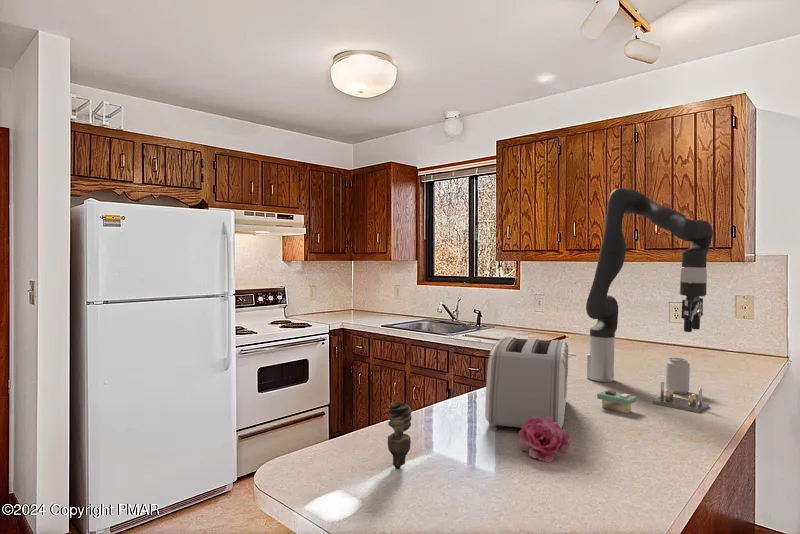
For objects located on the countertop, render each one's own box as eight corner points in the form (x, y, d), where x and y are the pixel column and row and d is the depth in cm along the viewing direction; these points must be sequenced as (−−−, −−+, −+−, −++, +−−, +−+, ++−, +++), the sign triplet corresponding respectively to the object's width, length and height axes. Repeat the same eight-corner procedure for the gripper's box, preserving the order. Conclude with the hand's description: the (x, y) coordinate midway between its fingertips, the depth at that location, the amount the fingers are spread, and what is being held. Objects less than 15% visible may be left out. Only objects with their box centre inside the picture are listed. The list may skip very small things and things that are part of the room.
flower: (554, 478, 121) (533, 446, 119) (528, 466, 130) (507, 435, 128) (584, 444, 125) (564, 412, 123) (556, 434, 134) (537, 404, 133)
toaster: (567, 397, 180) (569, 332, 179) (563, 440, 138) (565, 355, 137) (505, 391, 187) (506, 329, 186) (482, 430, 145) (483, 350, 144)
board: (597, 398, 167) (597, 391, 167) (605, 395, 172) (605, 388, 172) (628, 405, 160) (628, 397, 160) (636, 401, 164) (636, 394, 164)
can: (692, 394, 185) (692, 361, 185) (669, 393, 186) (669, 360, 186) (685, 389, 192) (685, 357, 192) (663, 388, 194) (663, 356, 193)
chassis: (652, 403, 173) (652, 383, 173) (663, 397, 180) (664, 379, 180) (699, 412, 163) (699, 392, 163) (709, 406, 170) (709, 386, 170)
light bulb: (386, 463, 121) (386, 398, 120) (409, 462, 121) (410, 398, 121) (387, 473, 115) (388, 405, 115) (412, 472, 116) (413, 405, 115)
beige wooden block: (602, 407, 168) (602, 398, 168) (606, 405, 170) (606, 396, 170) (627, 413, 162) (627, 403, 162) (631, 411, 164) (631, 401, 164)
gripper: (687, 280, 178) (686, 327, 179) (673, 281, 168) (672, 331, 168) (712, 281, 173) (710, 329, 173) (699, 282, 163) (698, 334, 163)
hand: (691, 330), depth 171 cm, fingers open, 8 cm apart
